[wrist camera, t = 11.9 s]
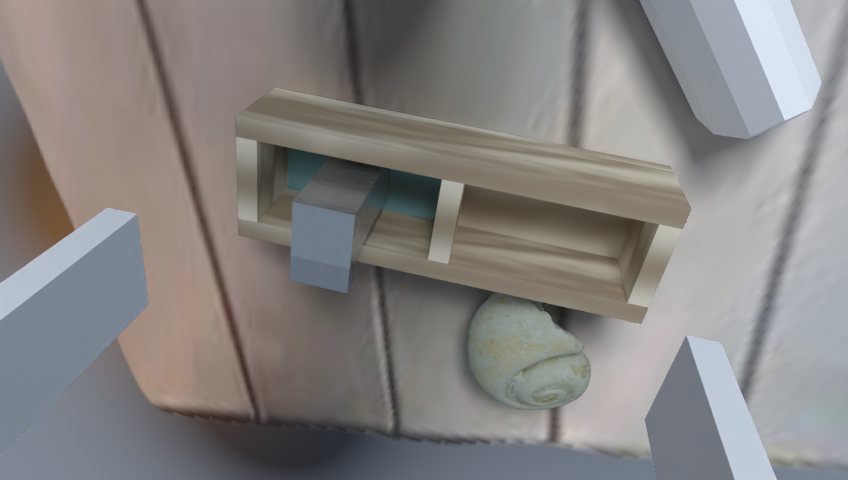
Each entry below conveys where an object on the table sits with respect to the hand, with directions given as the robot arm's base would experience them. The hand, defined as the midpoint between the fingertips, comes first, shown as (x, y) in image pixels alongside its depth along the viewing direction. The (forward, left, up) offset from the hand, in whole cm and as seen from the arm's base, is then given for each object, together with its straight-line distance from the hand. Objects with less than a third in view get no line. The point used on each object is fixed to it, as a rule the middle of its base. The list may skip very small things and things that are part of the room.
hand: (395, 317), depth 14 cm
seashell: (+23, +8, -32) cm, 40 cm away
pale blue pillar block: (+11, -8, -31) cm, 33 cm away
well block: (+11, -1, -32) cm, 34 cm away
